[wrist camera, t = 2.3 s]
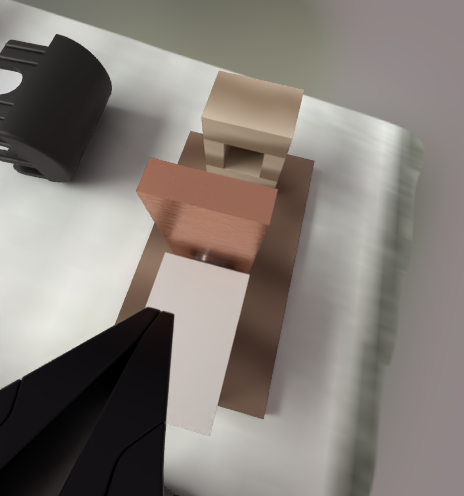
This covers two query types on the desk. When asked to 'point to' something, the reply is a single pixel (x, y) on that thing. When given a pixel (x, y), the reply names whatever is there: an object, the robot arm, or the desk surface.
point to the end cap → (50, 106)
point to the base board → (258, 288)
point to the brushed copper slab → (207, 213)
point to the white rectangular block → (198, 334)
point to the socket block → (249, 128)
